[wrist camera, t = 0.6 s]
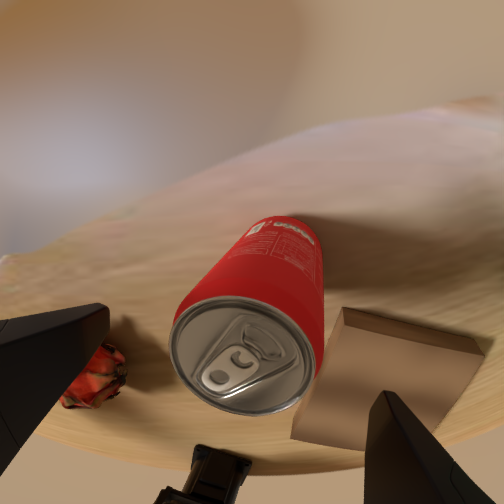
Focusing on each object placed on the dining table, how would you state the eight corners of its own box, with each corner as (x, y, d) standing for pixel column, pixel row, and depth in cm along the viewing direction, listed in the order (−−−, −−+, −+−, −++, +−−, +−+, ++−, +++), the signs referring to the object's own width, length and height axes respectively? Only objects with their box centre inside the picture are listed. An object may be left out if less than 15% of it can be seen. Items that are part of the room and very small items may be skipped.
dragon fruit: (61, 327, 30) (151, 330, 29) (62, 398, 27) (153, 413, 26) (10, 313, 22) (106, 317, 21) (10, 400, 19) (109, 428, 18)
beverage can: (338, 252, 19) (359, 370, 8) (283, 302, 21) (246, 437, 10) (280, 195, 19) (227, 250, 8) (228, 251, 21) (136, 351, 10)
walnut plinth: (407, 436, 23) (411, 455, 21) (293, 418, 24) (290, 438, 22) (473, 339, 19) (485, 356, 17) (342, 307, 21) (344, 325, 18)
